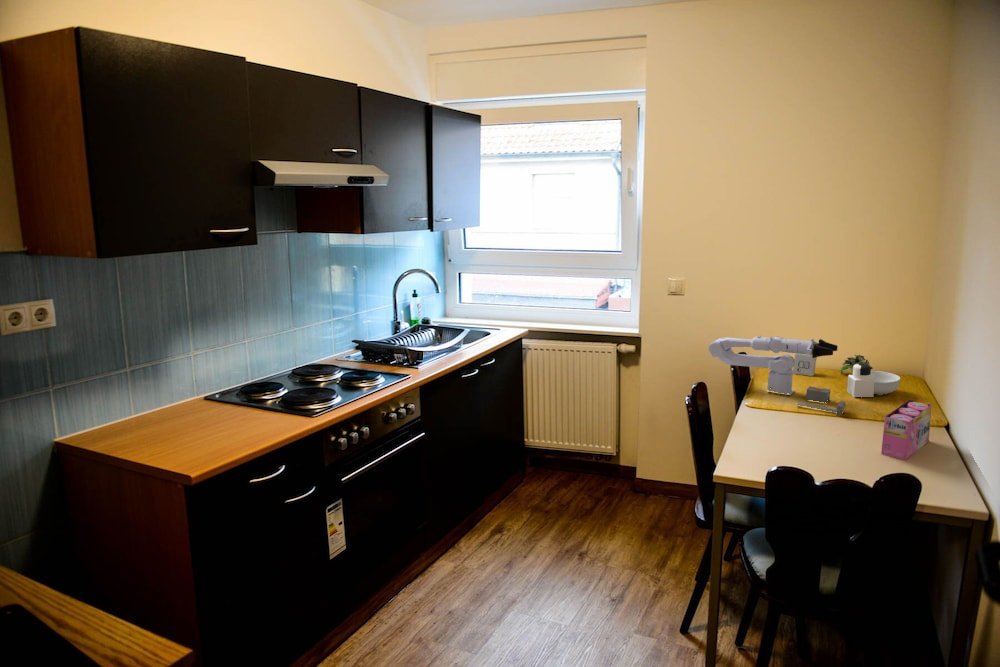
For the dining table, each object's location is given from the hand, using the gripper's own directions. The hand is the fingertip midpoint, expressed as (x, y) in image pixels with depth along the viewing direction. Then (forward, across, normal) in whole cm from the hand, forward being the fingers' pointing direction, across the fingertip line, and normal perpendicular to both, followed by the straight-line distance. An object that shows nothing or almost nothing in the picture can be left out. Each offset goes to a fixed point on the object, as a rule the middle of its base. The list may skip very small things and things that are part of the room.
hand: (835, 350), depth 288 cm
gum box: (+32, -38, +23) cm, 54 cm away
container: (+8, +12, +21) cm, 26 cm away
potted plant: (+1, +41, +21) cm, 46 cm away
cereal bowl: (+13, +20, +21) cm, 32 cm away
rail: (-2, -15, +21) cm, 26 cm away
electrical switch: (-19, +32, +21) cm, 43 cm away
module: (-5, -4, +21) cm, 22 cm away
